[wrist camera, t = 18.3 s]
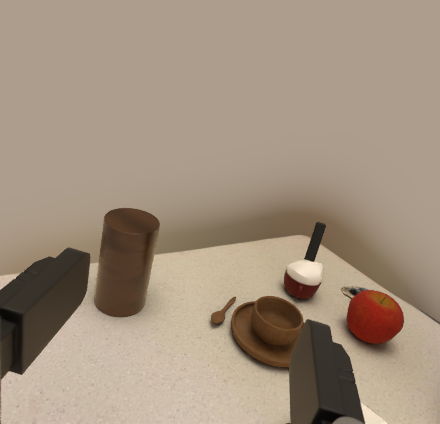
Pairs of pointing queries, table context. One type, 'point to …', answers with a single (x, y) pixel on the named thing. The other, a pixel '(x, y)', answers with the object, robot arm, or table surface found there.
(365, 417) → the flat white panel
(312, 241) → the cocoa
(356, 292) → the geode slice
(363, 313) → the apple
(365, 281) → the table surface
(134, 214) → the brown cylinder
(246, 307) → the place setting
